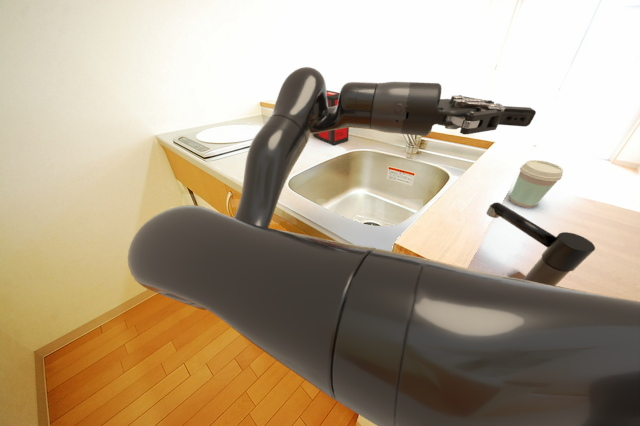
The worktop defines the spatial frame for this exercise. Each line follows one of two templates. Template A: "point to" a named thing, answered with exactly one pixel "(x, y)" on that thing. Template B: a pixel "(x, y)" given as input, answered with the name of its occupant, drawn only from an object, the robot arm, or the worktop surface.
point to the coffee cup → (534, 182)
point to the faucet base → (542, 274)
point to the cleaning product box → (333, 135)
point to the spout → (548, 240)
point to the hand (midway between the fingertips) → (530, 117)
